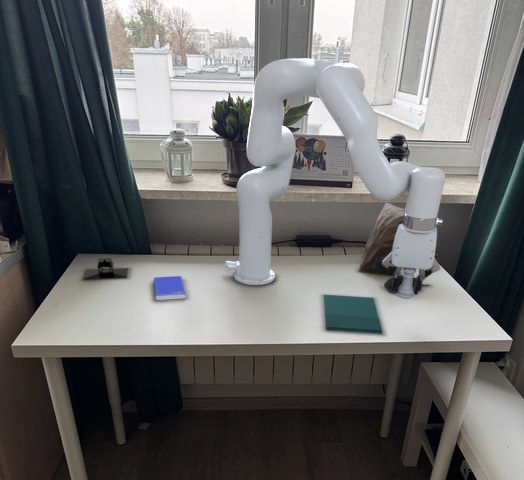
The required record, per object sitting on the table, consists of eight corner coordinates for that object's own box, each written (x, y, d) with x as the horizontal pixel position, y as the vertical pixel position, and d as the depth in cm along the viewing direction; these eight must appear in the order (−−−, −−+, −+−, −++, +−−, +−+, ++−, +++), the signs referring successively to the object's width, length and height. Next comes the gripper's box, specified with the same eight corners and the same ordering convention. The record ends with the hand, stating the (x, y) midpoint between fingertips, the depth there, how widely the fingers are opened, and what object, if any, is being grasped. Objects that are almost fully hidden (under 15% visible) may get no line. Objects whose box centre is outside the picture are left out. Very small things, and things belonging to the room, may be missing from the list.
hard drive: (185, 293, 140) (181, 275, 151) (155, 295, 139) (153, 277, 149) (185, 298, 141) (181, 280, 151) (155, 300, 140) (154, 282, 150)
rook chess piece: (414, 300, 129) (420, 271, 125) (396, 298, 130) (401, 269, 125) (413, 292, 133) (419, 264, 129) (395, 291, 133) (401, 262, 129)
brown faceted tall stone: (370, 258, 171) (380, 199, 161) (407, 267, 166) (419, 206, 156) (356, 270, 162) (365, 208, 152) (395, 280, 157) (407, 216, 146)
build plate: (84, 280, 150) (81, 265, 147) (87, 270, 156) (84, 256, 153) (127, 278, 152) (125, 263, 149) (128, 268, 158) (126, 254, 155)
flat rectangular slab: (326, 329, 129) (326, 327, 128) (324, 295, 146) (324, 293, 145) (381, 333, 128) (382, 330, 127) (373, 298, 145) (373, 296, 144)
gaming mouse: (434, 290, 151) (437, 277, 149) (389, 294, 148) (392, 282, 146) (423, 281, 157) (425, 269, 154) (379, 285, 153) (381, 273, 151)
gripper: (453, 220, 123) (437, 289, 133) (383, 214, 125) (372, 282, 135) (457, 230, 117) (440, 301, 126) (383, 223, 119) (372, 294, 129)
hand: (405, 290), depth 131 cm, fingers closed on rook chess piece, 4 cm apart
